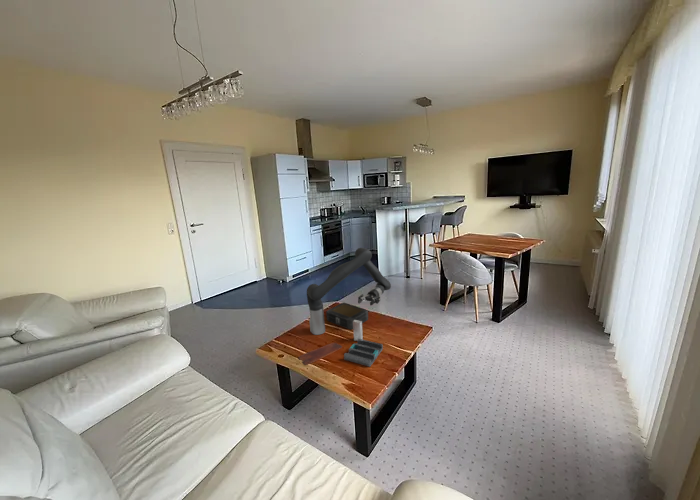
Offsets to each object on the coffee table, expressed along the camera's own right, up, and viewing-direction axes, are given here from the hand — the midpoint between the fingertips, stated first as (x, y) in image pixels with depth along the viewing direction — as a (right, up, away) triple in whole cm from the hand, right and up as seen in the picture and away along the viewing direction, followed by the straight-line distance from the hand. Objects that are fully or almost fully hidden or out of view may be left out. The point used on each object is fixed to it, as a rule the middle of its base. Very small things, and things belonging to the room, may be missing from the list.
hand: (364, 303), depth 185 cm
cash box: (-11, -17, +23) cm, 31 cm away
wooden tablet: (-26, -27, -16) cm, 41 cm away
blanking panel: (-4, -22, -5) cm, 23 cm away
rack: (-1, -26, -20) cm, 33 cm away
